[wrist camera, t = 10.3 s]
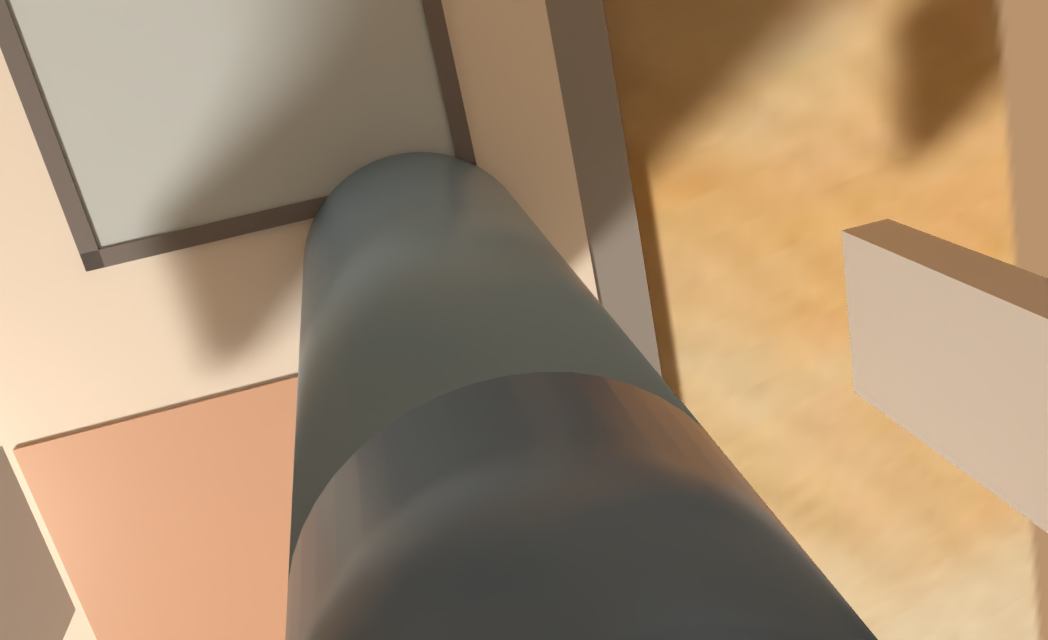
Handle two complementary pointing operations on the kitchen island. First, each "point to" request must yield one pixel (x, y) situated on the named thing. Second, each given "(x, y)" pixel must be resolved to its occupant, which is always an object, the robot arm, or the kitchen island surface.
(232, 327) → the picture board
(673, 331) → the kitchen island surface
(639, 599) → the grey-blue cylinder
